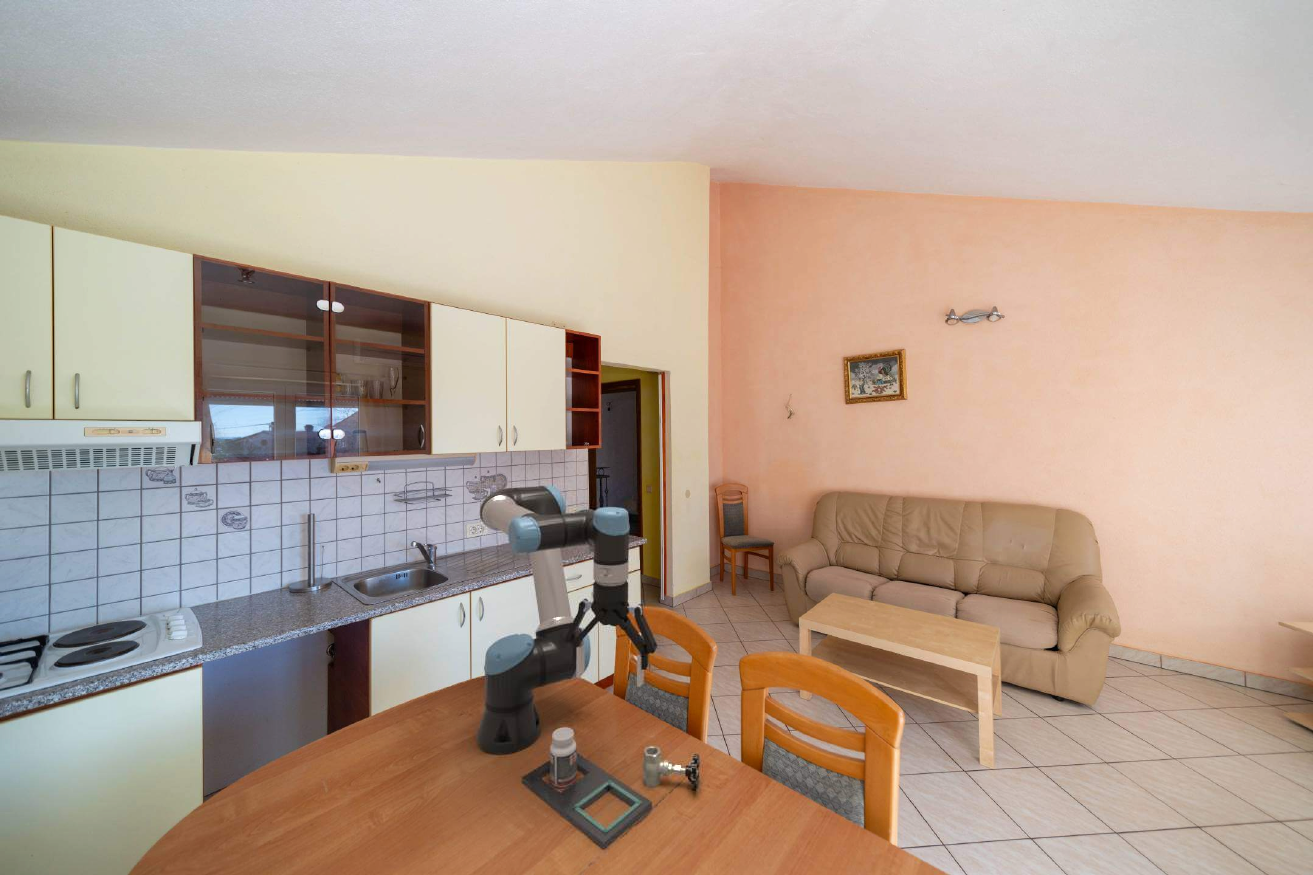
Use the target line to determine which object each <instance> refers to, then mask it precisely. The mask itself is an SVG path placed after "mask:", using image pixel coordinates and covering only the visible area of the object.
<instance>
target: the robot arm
mask: <svg viewBox="0 0 1313 875" xmlns="http://www.w3.org/2000/svg"><path fill="white" fill-rule="evenodd" d="M566 507H567V506H566V501H565V498H564V495H563V494H562V492H561V491H560V489H558V488H557V487H556V486H552V485H551V486H550V485H547V486H546V485H539V486H538V485H537V486H523V487H505V488H502V489H498V490H496V491H493V492H492V493H490V494H489V495H488V496H486V497H485V499H484V500H482V503H481V504H480V507H479V508H480V509H479V517H480V520H481V521H482V523H483V524H484V526H486V527H487V528H488V529H490V530H492V531H493V530H494V531H497V532H498V531H501V532H502V533H503V534H505V535H507V538H508V544H509V546H510V549H511V551H512V552H513V553H516V554H525V553H526V554H529V557H530V564H531V570H532V578H533V583H534V590H535V598H536V606H537V612H538V618H539V624H538V625H539V626H537V628H536V630H535V631H534V633H535V638H533V636H532V635H530V634H527V633H520V634H518V633H514V634H510V635H507V636H504V637H502V638H500V639H497V640H496V641H494V642H492V644H491V645H490V646H489V647H488V649H487V650H486V652H485V658H484V659H485V660H484V666H483V668H484V670H483V671H484V710H483V713H482V717H481V720H480V723H479V726H478V730H477V745H478V747H479V748H480V749H481V750H482V751H484V752H486V753H488V754H493V755H505V754H512V753H517V752H519V751H521V750H524V749H526V748H528V747H530V746H531V745H533V744H534V743H535V742H536V741H537V740H538V738H539V737H540V734H541V730H542V728H541V726H542V725H541V724H542V723H541V718H540V715H539V712H538V709H537V706H536V703H535V701H534V691H535V690H534V689H538V688H542V687H545V686H548V685H552V684H555V683H559V682H564V681H566V680H571V679H573V678H575V677H576V678H577V679H580V678H581V677H582V676H583V675H584V674H585V672H586V671H587V670H588V666H589V664H590V660H591V652H592V651H591V639H590V635H589V633H590V632H591V631H592V630H593V629H594V628H595V626H597V624H598V623H600V624H601V625H602V626H611V627H617V626H618V627H619V628H620V630H622V631H624V633H625V634H626V636H627V638H628V639H629V640H630V641H631V642H632V644H633V645H634V646H635V648H636V649H637V651H638V654H637V656H636V687H638V688H641V686H642V685H643V683H644V681H645V680H644V679H645V671H646V670H647V669H648V668H649V667H648V666H649V660H650V658H649V655H650V654H651V655H652V654H655V652H656V650H657V648H658V643H657V642H656V639H655V637H654V634H653V632H652V630H651V628H650V626H649V623H648V621H647V620H646V617H645V614H644V607H643V604H641V603H638V604H637V605H630V603H629V581H628V580H629V553H630V551H629V550H630V528H631V527H630V521H629V520H630V519H629V518H630V517H629V511H628V510H627V509H626V508H623V507H616V506H615V507H614V506H605V507H598V508H597V509H595V510H594V509H590V508H588V509H587V508H580V509H578V510H576V511H575V512H566V510H567V508H566ZM579 546H590V547H592V548H593V566H592V567H593V569H592V570H593V571H592V572H593V575H592V576H593V577H592V579H593V581H594V582H593V583H592V584H593V585H592V587H593V588H592V601H589V599H587V598H583V599H582V600H581V601H580V602H579V603H578V609H577V613H576V615H575V617H573V616H572V611H571V605H570V598H569V595H568V594H569V593H568V589H567V588H568V587H567V582H566V576H565V571H564V564H563V563H564V562H563V559H562V552H561V549H565V548H572V547H573V548H574V547H579ZM590 609H591V611H592V613H593V615H594V617H593V619H592V620H591V621H590V622H589V623H588V624H587V625H586V626H585V628H584V627H580V625H581V624H582V621H583V619H584V617H585V615H586V613H587V612H588V611H589V610H590ZM629 613H631V616H632V618H634V621H635V623H636V625H637V627H638V630H639V631H638V630H637V628H636V627H635V626H634V624H633V623H632V621H631V619H630V617H629V616H628V614H629ZM639 632H640V633H639Z"/></svg>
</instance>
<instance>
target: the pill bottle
mask: <svg viewBox="0 0 1313 875" xmlns="http://www.w3.org/2000/svg"><path fill="white" fill-rule="evenodd" d="M551 741H552V743H551V745H550V747H549V760H550V773H549V776H550V777H549V779H550V780H549V781H550V783H551V786H554V788H559V789H561V788H562V789H563V788H568V787H569V786H571V785H572V784H574V783H575V782H576V780H577V776H578V770H577V753H578V752H577V743H576V741H575V731H574V730H573V729H572V728H570V727H566V726H565V727H559V728H557V729H555V730H554V731H553V732H552V736H551Z"/></svg>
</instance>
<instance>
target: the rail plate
mask: <svg viewBox="0 0 1313 875" xmlns="http://www.w3.org/2000/svg"><path fill="white" fill-rule="evenodd" d="M577 771H579V772H580V773H581V774H583V775H584V776H582V777H581V778H580V779H578V780H577V781H575V782H574V783H573V784H571V785H570V786H568V787H565V789H563V790H562V791H558V790H557V789H556V788H555V787H553V785H552V784H549V783H548V782H547V781H545V779H543V778H544V777H546V776H548V775H550V759H549V760H548V761H545V763H543V764H542V765H540V766H538V767H537V768H534V769H533V770H531V771H530V772H528V773H527V774H525V775H523V776H521V784H523V785H524V786H525V787H526V788H527V789H528V790H530V791H532V792H533V793H534V794H535V795H536V796H538V798H540V799H541V800H543V801H544V802H545V803H546V804H547V805H549V806H550V807H551V808H552V809H554V810H555V812H557V813H558V814H560V815H561V816H562V817H563V818H564V819H565V820H567V821H568V822H569V823H571V824H572V826H574V827H575V828H576V829H577V830H579V831H581V833H583V834H584V835H585V836H586V837H588V839H590V840H592V842H593V843H595V844H596V845H597V846H599V847H600V848H601V849H603V850H605V849H607V847H609V846H610V845H611V844H612V843H613V842H615V840H617V839H618V838H619V837H620V836H621V835H623V834H624V833H625V832H626V831H628V829H630V828H631V827H632V826H633V825H634V824H635V823H636V822H638V821H639V820H640V819H641V818H642V817H644V815H645V814H647V813H648V812H649V811H650V810H651V809H652V808H653V801H652V800H650V799H649V798H647V797H646V796H643V795H642V794H640V792H637V791H636V790H635V789H633V788H631V787H630V786H629V785H627V784H626V783H624V782H623V781H621V780H619V779H618V778H617V777H615V776H614V775H612V774H610V773H609V772H607V771H606V770H604V769H602V768H601V767H599V766H598V765H597V764H595V763H594V762H592V761H590V760H589V759H588V758H586V757H584V756H583V755H581V754H580V753H578V752H577ZM608 792H609V793H610V794H612V795H613V796H615V797H616V798H618V799H619V800H621V801H622V802H624V803H625V804H627V805H628V806H629V808H628V809H627V810H626V811H624V813H622V814H621V815H620V816H618V817H617V818H616V819H615V820H614V821H613V822H611V823H610V824H609V825H608V826H607V827H605V826H603V824H601V823H600V822H599V821H597V820H596V819H595V818H593V816H591V815H590V814H588V813H587V812H586V811H584V810H586V808H588V807H589V806H591V805H593V803H595V802H596V801H597V800H598V799H600V798H601V797H603V796H604V795H605V794H607V793H608Z"/></svg>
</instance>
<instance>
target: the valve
mask: <svg viewBox="0 0 1313 875" xmlns="http://www.w3.org/2000/svg"><path fill="white" fill-rule="evenodd" d="M692 764H693V765H692ZM700 764H701V761H700V754H698V753H694V754H693V756H692V760H689V761H688V765H685V767H682V765H680V764H674V765H673V764H672V763H671V760H670V759H664V760H662V752H661V749H660V747H658V746H656V745H648V746H647V747H645V748H644V749H643V762H642V771H643V781H644V784H645V786H647V787H651V788H653V787H654V788H655V787H657V786H658V785H660V784H661V783H662V775H663V777H666V778H668V777H669V776H670V775H671V774H674V775H677V776H681V775H682V774H684V775H685V777H687V781H688V782H690V784H691V785H692V787H691V791H692V792H697V791H698V788H699V779H700V772H699V770H700V769H699V768H700V766H701V765H700Z"/></svg>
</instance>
